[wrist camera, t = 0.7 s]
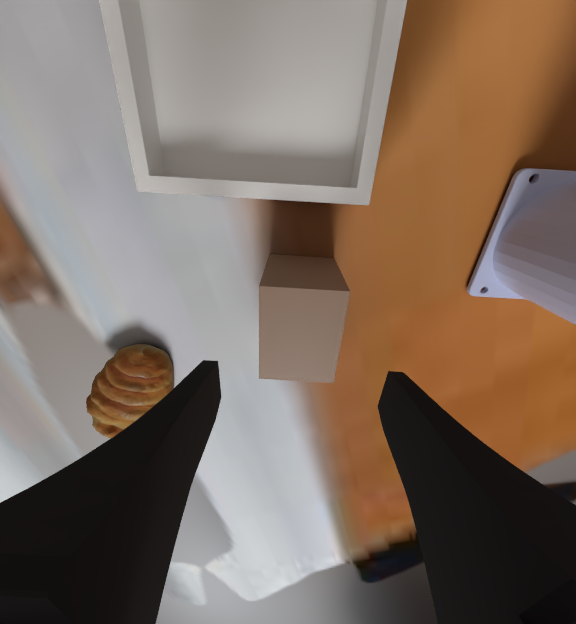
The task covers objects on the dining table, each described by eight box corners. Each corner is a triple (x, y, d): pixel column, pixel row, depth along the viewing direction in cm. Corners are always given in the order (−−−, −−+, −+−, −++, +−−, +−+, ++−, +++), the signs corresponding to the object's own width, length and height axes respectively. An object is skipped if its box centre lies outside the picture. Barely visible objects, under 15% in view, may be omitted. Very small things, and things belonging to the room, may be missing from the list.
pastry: (114, 324, 21) (80, 352, 18) (193, 354, 22) (175, 385, 19) (100, 397, 25) (70, 432, 22) (167, 419, 26) (149, 454, 23)
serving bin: (416, -140, 10) (449, -228, 8) (358, 201, 16) (368, 205, 14) (101, -160, 10) (47, -254, 8) (159, 189, 16) (137, 191, 14)
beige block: (334, 257, 18) (350, 291, 13) (323, 330, 21) (333, 382, 15) (269, 253, 18) (259, 286, 13) (268, 327, 21) (258, 378, 15)
